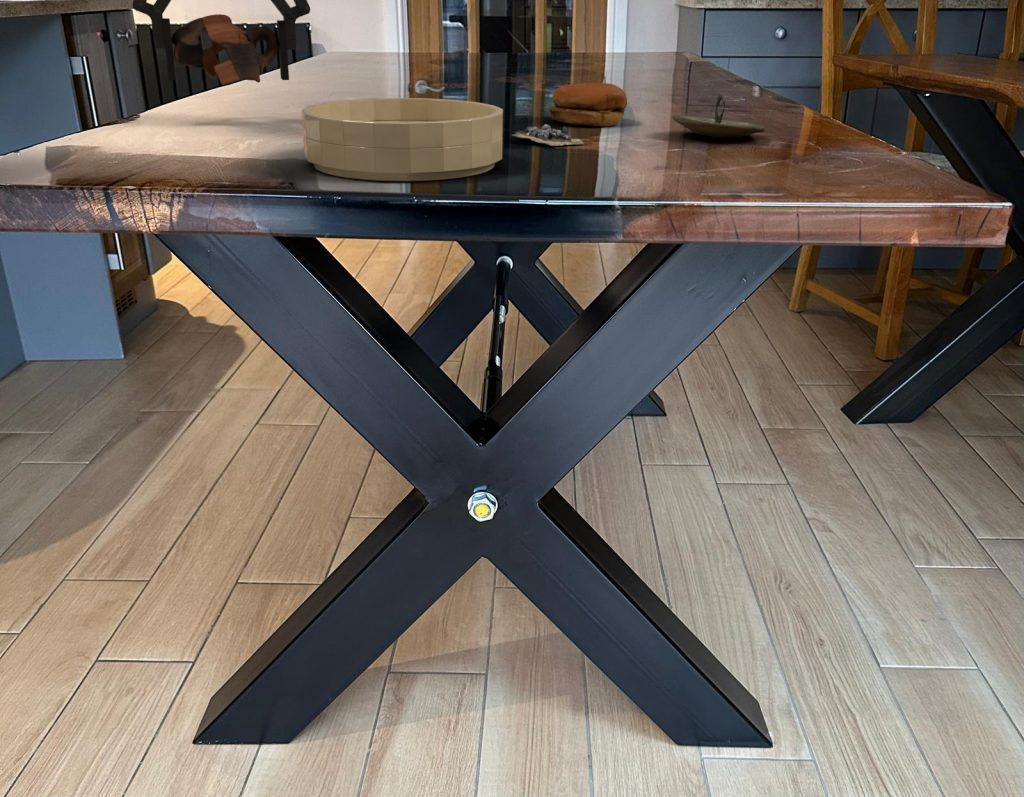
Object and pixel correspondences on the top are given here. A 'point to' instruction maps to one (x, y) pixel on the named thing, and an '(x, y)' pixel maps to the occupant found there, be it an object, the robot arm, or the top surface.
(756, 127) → the lid
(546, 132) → the blueberries
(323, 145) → the bowl
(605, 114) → the burger
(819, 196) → the top surface
